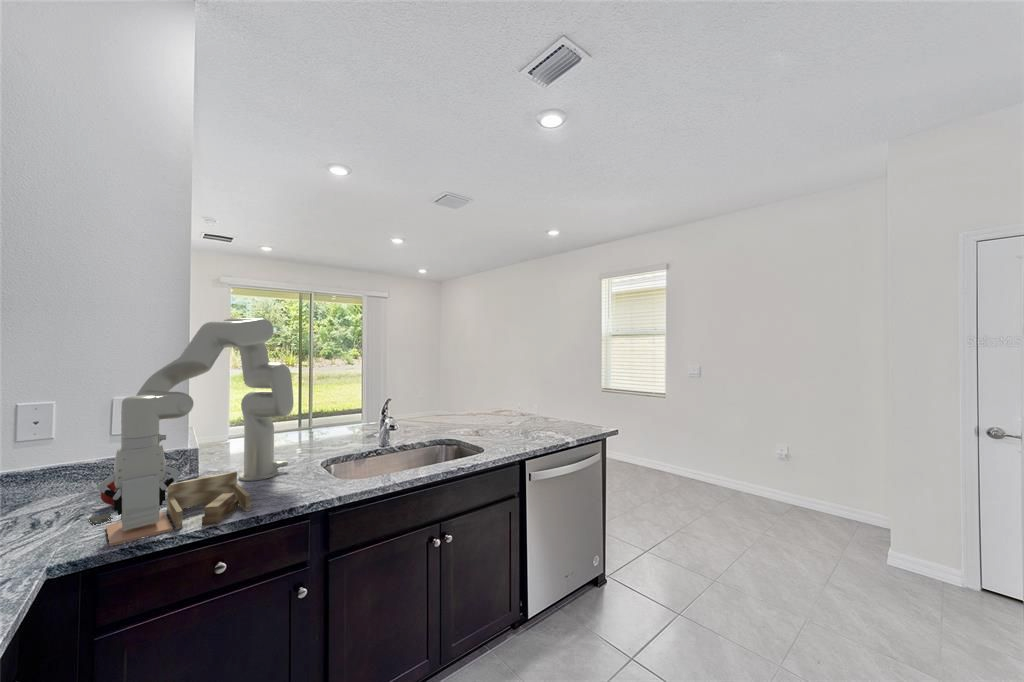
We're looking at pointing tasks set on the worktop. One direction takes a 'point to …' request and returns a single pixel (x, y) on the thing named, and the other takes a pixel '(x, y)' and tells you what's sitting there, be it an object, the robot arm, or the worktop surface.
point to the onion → (106, 498)
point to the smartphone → (104, 518)
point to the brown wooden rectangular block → (219, 509)
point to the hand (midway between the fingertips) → (140, 508)
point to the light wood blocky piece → (203, 494)
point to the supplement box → (140, 502)
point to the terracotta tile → (137, 531)
